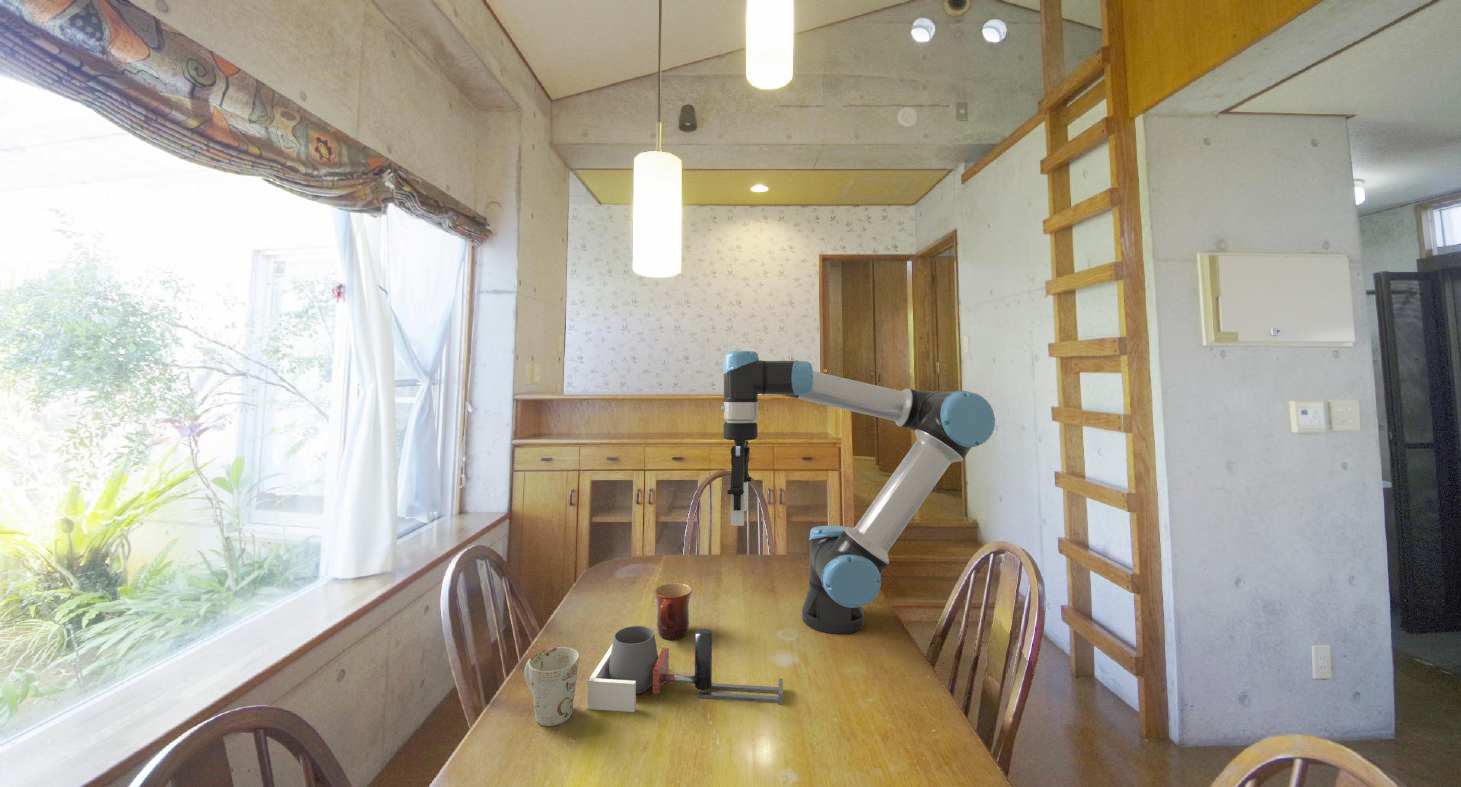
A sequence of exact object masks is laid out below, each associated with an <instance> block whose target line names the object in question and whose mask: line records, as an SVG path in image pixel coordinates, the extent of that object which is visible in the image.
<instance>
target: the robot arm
mask: <svg viewBox="0 0 1461 787" xmlns="http://www.w3.org/2000/svg"><path fill="white" fill-rule="evenodd" d="M758 354H759V353H758V352H756V351H753V350H752V351H751V350H732V351H727V352H726V353H725V355H724V360H723V362H724V364H723V405H722V406H721V408H720V410H721V411H723V419H724V420H725V421H726V422H725V421H724V423H723V439H725V440H729V441H734V442H733V445H732V447H731V448H730V456H731V457H730V459H731V460H730V464H731V470H730V471H731V473H730V489H727V495H730V526H734V527H736V526H738V527H744V526H745V512H749V483H750V482H752V477H750V474H749V462H750V453H751V448H750V446H749V442H748V441H754V440H757V438H758V434H759V433H758V428H759V427H758V425H759V424H758V422H756V421H757V420H758V417H759V402H758V400H759V398H758V397H759V395H762V396H763V395H777V396H784V397H788V398H792V399H798V400H802V401H806V402H811V403H816V404H820V405H824V406H828V407H832V408H836V409H841V410H846V411H849V412H854V413H858V414H863V415H866V416H867V415H868V416H872V417H875V418H876V417H877V418H880V419H883V420H887V421H893V422H894V423H895V424H896V426H897V427H901V428H904V429H905V428H906V429H907V430H908V429H909V430H911V431H914V434H915V437H916V441H915V442H914V444H913V445H912V446H911V447H910V449H909V451H908V452H907V454H906V455H905V456H904V457H903V459H902V461H901V462H900V463H899V465H898V466H897V467H896V469H895V470H894V471H893V473H892V474H891V476H890V477H889V479H888V480H887V481H886V483H885V484H884V486H882V488H881V489H880V491H879V493H878V494H877V495H876V496H875V498H874V499H873V501H872V502H871V504H870V505H869V506H868V508H867V509H866V510H865V512H864V514H863V515H862V516H861V518H860V519H859V521H858V522H857V523H856V525H855V526H853V527H850V526H844V525H819V526H814V527H812V528H810V532H809V538H808V541H809V587H808V590H807V594H806V596H805V599H804V602H803V605H802V607H801V608H802V609H801V619H802V621H803V623H804V624H805V625H806V626H808V627H810V628H811V629H814V630H817V631H820V632H824V633H829V634H849V633H854V632H857V631H859V630H861V629H862V628H863V627H864V625H865V612H864V608H863V607H865V606H867V605H868V604H870V603H871V602H873V601H874V600H875V599H876V598H877V596H878V595H879V592H880V591H881V586H882V577H881V576H882V573H883V572H884V571H885V570H886V568H887V566H888V565H889V564H890V558H889V551H890V550H891V548H892V547H893V545H894V544H895V543H896V542H897V540H898V538H899V537H900V535H901V534H902V533H903V531H904V530H905V528H906V527H907V526H908V524H909V523H910V522H911V520H912V518H913V517H914V515H916V513H917V512H918V511H919V509H920V508H921V506H922V504H924V502H925V500H926V499H927V498H928V496H929V495H930V493H931V492H932V490H933V489H934V488H935V487H936V484H938V482H939V481H940V479H942V476H943V475H944V473H946V471H947V470H948V468H949V467H950V465H951V464H953V463H958V462H962V461H963V460H964V459H965V457H966V456H967V454H968V453H969V452H970V451H971V449H972V448H976V447H979V446H981V445H983V444H985V443H986V442H987V441H988V440H989V439H990V438H991V436H992V435H993V433H994V430H995V426H996V417H995V413H994V410H993V407H992V406H991V404H990V402H988V401H987V399H985V397H983V396H982V395H980V394H978V393H975V392H972V391H971V392H970V391H967V390H956V391H947V390H940V391H939V390H936V391H935V390H934V391H933V390H931V391H930V390H929V391H925V390H915V389H913V388H904V389H903V390H898V389H893V388H888V387H885V386H879V385H876V384H872V383H866V382H863V381H860V380H859V381H858V380H853V379H850V378H845V377H841V376H837V375H831V374H828V373H823V372H819V371H814V370H813V366H812V365H813V364H812V363H811V362H810V361H804V360H799V359H797V360H761V359H760V358H759V355H758ZM759 359H760V360H759Z"/></svg>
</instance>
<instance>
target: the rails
mask: <svg viewBox="0 0 1461 787" xmlns="http://www.w3.org/2000/svg"><path fill="white" fill-rule="evenodd" d="M709 690H716V691H717V690H718V691H737V692H750V693H751V692H752V693H767V694H778V695H777V696H776V695H762V694H761V695H760V694H749V693H748V694H747V693H732V692H730V693H728V692H716V691H715V692H714V691H712V692H711V691H702V690H699V691H698V694H697V699H712V700H713V699H715V700H728V701H729V700H731V701H742V702H743V701H746V702H760V703H776V704H778V705H781V706H783V705H784V679H783V678H778V686H765V685H764V686H763V685H748V684H747V685H746V684H730V683H717V682H712V686H711V688H710V689H709Z"/></svg>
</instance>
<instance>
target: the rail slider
mask: <svg viewBox="0 0 1461 787" xmlns="http://www.w3.org/2000/svg"><path fill="white" fill-rule="evenodd" d="M669 650H670V648H669V647H662V648H661V651H660V653H659V654H658V659H657V661H656V663H655V666H654V668H653V682H652V694H660V692H661V690H662V688H663V685H664V683H674V684H677V683H678V684H690V685H691V684H692V685H693V684H694V688H695V689H697V690H699V691H707V690H711V689H710V688H711V686H712V683H713V681H712V680H713V678H712V677H713V672H712V670H713V631H712V630H711V629H708V628H699V629H697V630H695V631H694V674H693V675H692V674H678V673H677V674H676V673H669V668H670V667H669V666H670V663H669V662H670V660H669V658H670V657H669V655H670V654H669V653H670V652H669Z"/></svg>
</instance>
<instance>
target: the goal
mask: <svg viewBox="0 0 1461 787" xmlns="http://www.w3.org/2000/svg"><path fill="white" fill-rule="evenodd" d="M612 646H613V643H612V644H610V647H609V648H608V650H607V652H605V654H604V656H603V658H602V659H601V661H600V662H599V663H598V665H597V666H596V668H595V669H594V670H593V672H592V674H591V675H590V677H589V679H588V680H587V709H588V710H597V711H614V712H626V713H627V712H628V713H635V711H636V710H637V694H636V681H631V680H615V679H612V678H611V676H610V672H609V663H610V657H611V651H612Z"/></svg>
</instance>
